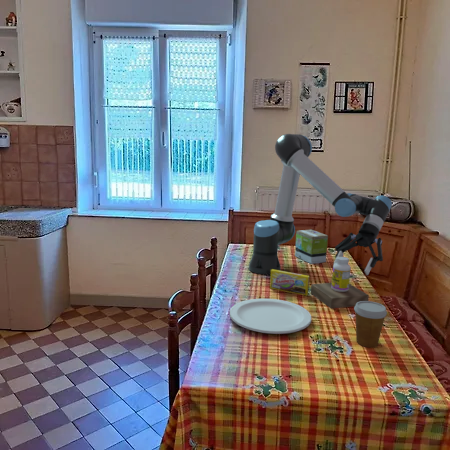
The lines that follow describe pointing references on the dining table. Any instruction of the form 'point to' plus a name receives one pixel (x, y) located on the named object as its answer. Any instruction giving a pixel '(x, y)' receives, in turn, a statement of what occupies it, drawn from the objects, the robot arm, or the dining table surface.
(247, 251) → the dining table surface
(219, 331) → the dining table surface
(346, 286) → the supplement bottle
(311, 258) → the tea box
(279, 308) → the plate
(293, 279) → the candy box
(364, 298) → the walnut stand
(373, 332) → the disposable coffee cup
